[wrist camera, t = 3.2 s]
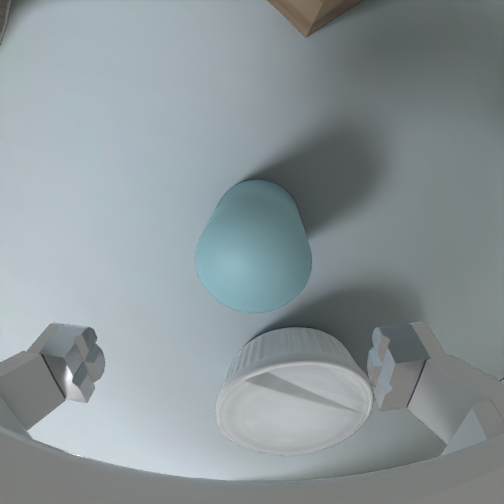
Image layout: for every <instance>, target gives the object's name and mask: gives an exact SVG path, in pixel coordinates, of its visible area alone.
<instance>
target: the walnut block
mask: <svg viewBox="0 0 504 504" xmlns="http://www.w3.org/2000/svg"><path fill="white" fill-rule="evenodd" d="M267 1H268V2H269V3H270V4H271V5H273V6H274V7H275V8H276V9H277V10H278V11H279V12H280V13H281V14H282V15H283V16H284V17H285V18H286V19H287V20H288V21H290V22H291V23H292V24H293V25H294V26H295V27H296V28H297V29H298V30H299V31H300V32H301V33H302V34H303V36H304V37H305V38H306V37H307V36H309V35H310V34H312V33H313V32H315V31H316V30H318V29H319V28H321V27H322V26H324V25H325V24H327V23H328V22H330V21H331V20H333V19H334V18H336V17H338V16H339V15H341V14H342V13H344V12H345V11H347V10H349V9H350V8H352V7H354V6H355V5H357V4H359V3H360V2H362V1H364V0H267Z"/></svg>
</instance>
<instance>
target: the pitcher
mask: <svg viewBox="0 0 504 504" xmlns="http://www.w3.org/2000/svg"><path fill="white" fill-rule="evenodd" d="M10 5H11V0H0V44H1V41H2V38H3V35H4V32H5V29H6V26H7V21H8V15H9V10H10Z"/></svg>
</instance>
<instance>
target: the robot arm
mask: <svg viewBox="0 0 504 504" xmlns="http://www.w3.org/2000/svg"><path fill="white" fill-rule="evenodd" d="M96 341H97V336H96V334H95V331H94V329H92V328H90V327H86V326H77V325H70V324H61V323H52V324H50V325H49V326H48V327H47V328H46V329H45V330H44V331H43V333H42V334H41V335H40V336H39V337H38V338H37V340H36V341H35V342H34V343H33V344H32V346H31V347H30V348H29V349H28V350H27V352H26V351H22V352H20V353H18V354H16V355H14V356H12V357H10V358H8V359H6V360H4V361H2V362H0V504H504V383H502V382H500V381H498V380H496V379H495V378H493V377H491V376H489V375H487V374H485V373H484V372H482V371H480V370H478V369H476V368H474V367H473V366H471V365H469V364H467V363H465V362H463V361H462V360H460V359H458V358H456V357H454V356H452V355H451V356H447V354H446V353H445V351H444V350H443V348H442V346H441V345H440V343H439V342H438V340H437V339H436V337H435V336H434V334H433V333H432V331H431V330H430V328H429V327H428V325H427V324H426V323H425V322H423V321H422V322H415V323H408V324H404V325H395V326H385V327H375V329H374V331H373V335H372V342H373V344H374V347H373V348H372V349H371V350H370V351H369V353H368V358H367V372H368V377H369V380H370V383H371V384H373V385H374V386H376V388H375V392H374V396H375V399H376V402H377V405H378V408H379V411H385V410H393V409H400V408H406V407H407V409H408V410H409V411H410V412H411V413H412V414H414V415H415V416H416V417H417V418H418V419H419V420H420V421H422V422H423V423H424V424H425V425H426V426H427V427H428V428H429V429H431V430H432V431H433V432H434V433H435V434H436V435H437V436H439V437H440V438H441V439H442V440H443V441H444V442H445V443H447V444H448V445H447V446H446V448H445V449H444V450H443V452H442V453H441V455H440V456H438V457H435V458H431V459H427V460H424V461H420V462H416V463H412V464H408V465H403V466H399V467H394V468H390V469H385V470H379V471H374V472H368V473H362V474H356V475H349V476H341V477H332V478H323V479H311V480H295V481H228V480H212V479H200V478H190V477H182V476H174V475H167V474H160V473H154V472H148V471H143V470H137V469H132V468H127V467H123V466H118V465H114V464H110V463H106V462H102V461H98V460H94V459H91V458H87V457H84V456H80V455H77V454H74V453H70V452H67V451H64V450H61V449H58V448H55V447H52V446H50V445H47V444H44V443H41V442H39V441H36V440H34V439H33V438H32V437H31V436H30V434H29V433H28V432H27V430H29V429H30V428H31V427H32V426H34V425H35V424H36V423H38V422H39V421H40V420H41V419H43V418H44V417H45V416H46V415H48V414H49V413H50V412H51V411H53V410H54V409H55V408H57V407H58V406H59V405H60V404H62V403H63V402H64V401H65V399H68V400H73V401H78V402H83V403H88V401H89V399H90V397H91V395H92V393H93V391H94V389H95V386H94V382H95V381H97V380H99V379H100V378H101V376H102V374H103V372H104V367H105V359H104V354H103V352H102V349H101V348H100V347H99V346H98V345H97V344H96Z"/></svg>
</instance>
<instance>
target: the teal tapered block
mask: <svg viewBox="0 0 504 504" xmlns="http://www.w3.org/2000/svg"><path fill="white" fill-rule="evenodd" d="M195 265H196V270H197V274H198V277H199V279H200V281H201V283H202V285H203V286H204V288H205V289H206V291H207V292H208V293H209V294H210V295H211V296H212V297H213V298H214V299H216V300H217V301H218V302H220V303H221V304H223V305H225V306H227V307H229V308H231V309H234V310H238V311H241V312H248V313H261V312H268V311H272V310H275V309H278V308H280V307H282V306H284V305H286V304H288V303H289V302H291V301H292V300H293V299H294V298H295V297H296V296H297V295H298V294H299V293H300V292H301V291H302V290H303V288H304V287H305V285H306V283H307V281H308V279H309V276H310V272H311V267H312V255H311V250H310V246H309V243H308V239H307V236H306V233H305V230H304V227H303V223H302V220H301V217H300V214H299V211H298V208H297V205H296V203H295V201H294V199H293V198H292V197H291V195H290V194H289V193H288V192H287V191H286V190H285V189H283V188H282V187H281V186H279V185H277V184H275V183H273V182H270V181H266V180H248V181H244V182H241V183H239V184H237V185H235V186H233V187H232V188H231V189H229V190H228V191H227V192H226V193H225V194H224V196H223V197H222V198H221V200H220V202H219V203H218V205H217V207H216V209H215V211H214V213H213V214H212V216H211V218H210V220H209V222H208V224H207V226H206V228H205V229H204V231H203V233H202V235H201V237H200V239H199V242H198V244H197V248H196V253H195Z"/></svg>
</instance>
